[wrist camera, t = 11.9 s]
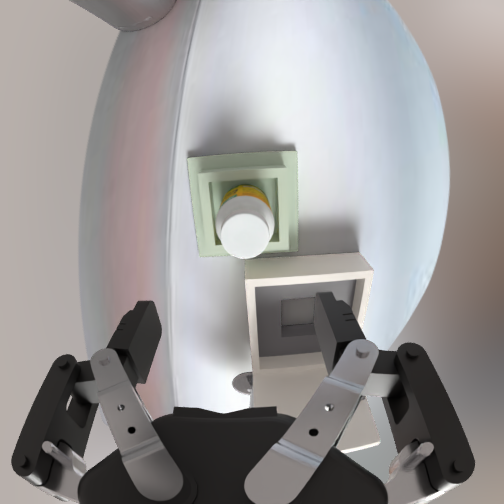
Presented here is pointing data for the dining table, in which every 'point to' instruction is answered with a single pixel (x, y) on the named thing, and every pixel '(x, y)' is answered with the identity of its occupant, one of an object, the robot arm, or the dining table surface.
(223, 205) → the supplement bottle
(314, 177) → the dining table surface
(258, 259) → the case
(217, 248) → the sage holder
